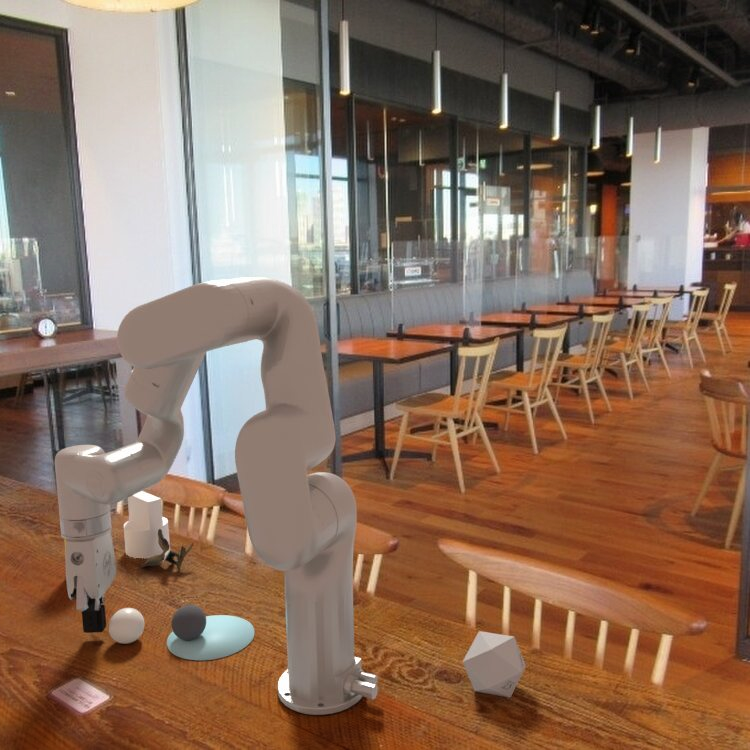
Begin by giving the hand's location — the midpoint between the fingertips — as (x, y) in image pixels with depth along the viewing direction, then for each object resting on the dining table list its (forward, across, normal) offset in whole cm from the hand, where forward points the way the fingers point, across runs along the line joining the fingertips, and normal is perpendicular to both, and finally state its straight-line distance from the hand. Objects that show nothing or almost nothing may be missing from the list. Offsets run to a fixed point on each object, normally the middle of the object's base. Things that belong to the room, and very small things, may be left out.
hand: (95, 629), depth 120 cm
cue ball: (-1, -1, -6) cm, 6 cm away
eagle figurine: (+2, +28, -5) cm, 28 cm away
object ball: (-1, -1, -16) cm, 16 cm away
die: (+2, -18, -62) cm, 65 cm away
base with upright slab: (+2, +36, +1) cm, 37 cm away
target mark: (+2, -1, -19) cm, 19 cm away
